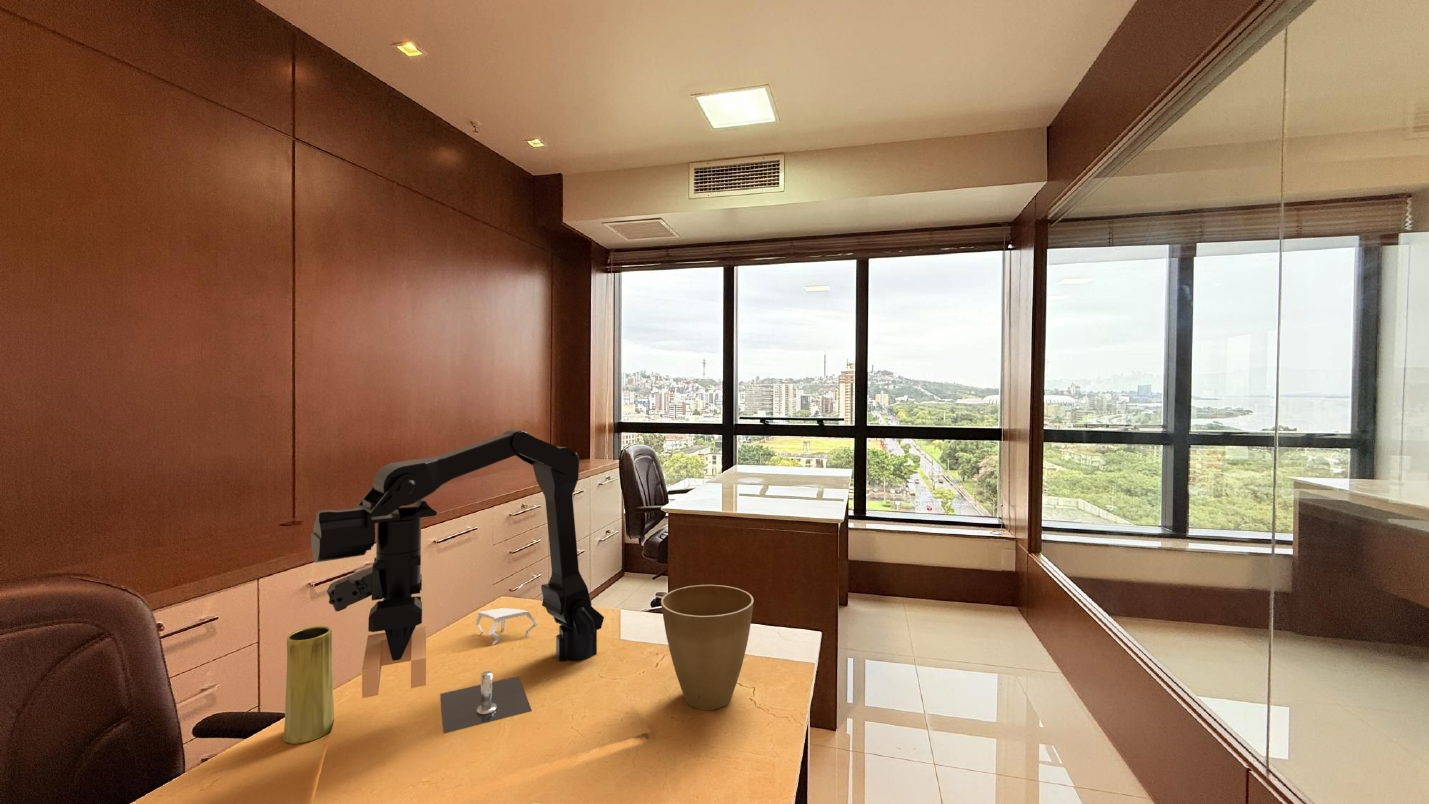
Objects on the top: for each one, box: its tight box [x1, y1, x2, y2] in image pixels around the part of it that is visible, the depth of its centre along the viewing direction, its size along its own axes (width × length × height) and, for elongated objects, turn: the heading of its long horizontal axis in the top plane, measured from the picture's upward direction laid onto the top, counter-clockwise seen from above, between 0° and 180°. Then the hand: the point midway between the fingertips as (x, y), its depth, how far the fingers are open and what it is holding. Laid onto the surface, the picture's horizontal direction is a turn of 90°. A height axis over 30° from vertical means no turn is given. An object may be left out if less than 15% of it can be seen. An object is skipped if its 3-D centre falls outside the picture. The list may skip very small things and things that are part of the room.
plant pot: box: [660, 584, 754, 711], centre depth 89 cm, size 15×15×16 cm
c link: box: [361, 625, 427, 699], centre depth 78 cm, size 7×9×4 cm
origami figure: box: [475, 607, 538, 646], centre depth 113 cm, size 12×8×5 cm
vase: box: [282, 625, 335, 745], centre depth 80 cm, size 6×6×14 cm
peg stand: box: [440, 670, 533, 734], centre depth 86 cm, size 12×12×6 cm
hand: (397, 656), depth 81 cm, fingers closed on c link, 2 cm apart
